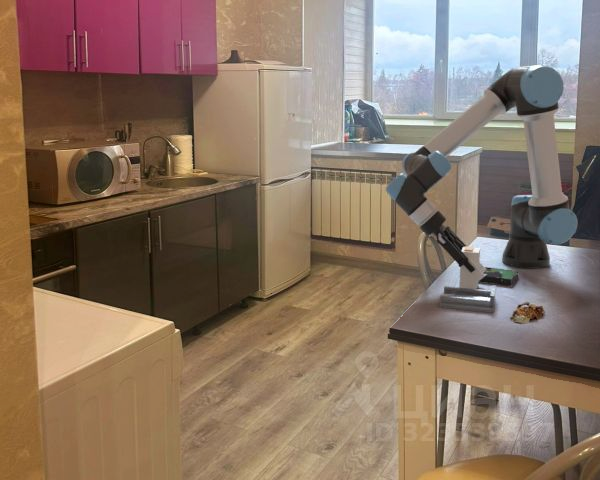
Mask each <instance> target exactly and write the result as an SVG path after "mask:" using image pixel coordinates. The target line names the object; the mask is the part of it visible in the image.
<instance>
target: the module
mask: <svg viewBox="0 0 600 480" xmlns="http://www.w3.org/2000/svg"><path fill="white" fill-rule="evenodd" d="M462 252H463V253H464V255H465V256H466V257H467V258H468V260H469V259H470V260H471V261H472V262H473V263H474V264H475V265H476V266H477V267H478V268H479V262H480V260H481V259H480V258H481V247H474V246H468V245H466V246H465V247H463V248H462ZM458 285H459V287H458V288H469V289H478V285H479V282H477V281H476V279H475V278H474V277H473V276H472V275H471V274H470V273H469V272H468V271H467V270H466V269H465V268H464V267H463V266H461V267H459V284H458Z"/></svg>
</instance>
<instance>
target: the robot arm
mask: <svg viewBox="0 0 600 480" xmlns="http://www.w3.org/2000/svg"><path fill="white" fill-rule="evenodd" d="M564 86H565V85H564V81H563V77H562V75H561V73H560V72H558V71H557V70H556V69H554V68H553V67H550V66H547V65H541V64H536V65H534V64H533V65H525V66H523V65H520V66H516V67H514V68H512V69H510V70H509V71H507V72H505V73H504V74H503V75H501V76H500V77H499V78H498V79H496V80H495V81H494V82H493V83H492V84H490V86H488V87H487V88H486V89H484V90H483V91H484V92H483V95H482V96H481V97H480V98H479V99H478V100H476V101H474V103H473V104H472V105H471V106H470V107H468V108H467V109H465V111H464V112H462V113H460V115H458V117H455V119H454V120H452V121H451V122H450V123H449V124H448V125H447V126H445V127H444V128H443V129H442V130H441V131H439V132H438V133H437V134H436V135H435V136H434V137H432V138H431V139H430V140H428V141H427V142H426V143H425V144H424V145H423V146H421V147H420V148H418V149H417V150H416V151H415V152H410V153H407V154H406V155H405V156H404V158H403V159H402V161H401V162H402V163H401V166H402V168H401V169H402V170H403V172H404V173H403V172H400V173H399V174H398V175H397V176H396V177H394V178H393V179H392V181H390V182H389V183H388V184H387V185H386V187H385V192H386V193H387V194H388V196H389V197H390V198H391V199H392V201H393V202H395V204H396V205H397V206H398V207H399V208H401V210H402V211H403V212H404V213H405V214H407V216H409V218H410V222H414V223H415V224H416V226H419V229H420V230H421V231H422V232H423V233H424V234H425V235H426V236H430V235H432V234H434V236H435V238H436V243H438V244H439V245H440V246H441V247H442V248H443V249H444V250H445V251H446V252H447V253H448V254H449V256H450V257H451V258H452V259H453V260H454V261H455V262H456V263H457V265H458V267H459V268H460V267H461V266H463V267H464V268H465V269H466V270H467V271H468V272H469V273H470V274H471V275H472V276H473V277H474V278H475V279H476V281H477V282H478V281H480V280H481V279H482V278H483V277H485V275H484V274H483V272H484V271H486V268H485V267H486V266H485V265H483V263H481V262H480V261H479V268H478V267H477V266H476V265H475V264H474V263H473V262H472V261H471V260H470V259H469V260H468V258H467V257H466V256H465V255H464V253H463V252H462V248H463V247H465V246H467V245H466V244H465V242H463V241H462V240H461V239H460V238H459V237H458V235H457V234H456V233H454V231H453V230H452V229H451V227H450V226H448V225H447V226H445V225H444V223H445V222H446V219H447V218H446V217H445V215H443V213H442V212H440V210H437V206H435V205H434V203H432V201H430V200H429V199H428V198H427V196H426V195H425V194H426V193H427V192H429V190H431V189H432V188H433V187H434V186H435V185H436V184H438V183H439V182H440V181H441V180H442V179H443V178H445V176H446V175H447V174H448V173H449V172H450V171H451V169H452V164H451V162H450V161H449V159H448V158H447V157H448V156H451V154H452V153H454V152H455V151H456V150H457V149H458V148H460V147H461V146H462V145H463V144H465V143H466V141H468V140H469V139H471V138H472V137H473V136H475V134H476V133H478V132H479V131H480V130H481V129H483V128H484V127H485V126H486V125H488V124H489V123H490V122H491V121H493V120H494V119H495V118H496V117H497V116H499V115H505V114H506V113H508V112H509V111H510V110H512V109H514V108H516V116H517V118H519V119H522V121H523V128H524V136H525V144H526V153H527V154H526V155H527V161H528V162H527V163H528V168H529V169H528V170H529V178H530V185H531V186H530V187H531V194H519V195H518V194H517V195H515V196H513V197H512V199H511V205H510V219H509V236H508V237H509V238H508V241H507V242H506V246H505V247H504V250H503V253H502V254H501V255H502V256H501V259H502V260H501V262H502V263H503V264H505V265H508V266H510V267H515V268H521V269H522V268H523V269H542V268H543V269H544V268H546V267H548V266H550V259H551V257H550V254H549V250H548V245H547V244H550V245H556V246H557V245H561V244H564V243H567V242H568V241H569V240H570V239H572V237H573V235H575V234H576V232H577V229H578V225H579V223H578V218H577V215H576V214H575V213H574V211H572V210H571V209H570V203H569V197H568V196H567V195H566V194H565V193H563V189H562V181H561V180H562V179H561V170H560V160H559V153H558V142H557V134H556V125H555V123H556V122H555V114H556V113H557V112H558V111H559V101H560V98H561V97H562V96H563V92H564ZM478 283H479V282H478Z"/></svg>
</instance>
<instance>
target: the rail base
mask: <svg viewBox="0 0 600 480" xmlns="http://www.w3.org/2000/svg"><path fill="white" fill-rule="evenodd" d="M491 285H492V286H491V290H490V289H478V288H477V289H469V288H459V287H458V286H457V287H456V286H446V285H445V286H444V287H443V293H442V295H440V301H439V308H441V309H442V308H443V309H451V310H452V309H454V310H462V311H472V312H473V311H474V312H482V313H493V314H494V309H495V302H496V291H497V285H494V284H491Z"/></svg>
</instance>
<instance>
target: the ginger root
mask: <svg viewBox="0 0 600 480" xmlns="http://www.w3.org/2000/svg"><path fill="white" fill-rule="evenodd" d="M543 307H544V306H543V305H536V304H535V302H531V303H530V302H529V301H525V302H522V303H519V304H517V307H516V309H515V310H513V313H512V315H511V316H510V319H509V320H511V322H512V323H519V324H522V325H523V324H528V323H529V322H530V320H531V319H534V318H535V317H536V320H537V321H539V320H541V318H542V317H543V316H542V314H543V313H544V314H545V313H546V312H545V309H544V308H543Z"/></svg>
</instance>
